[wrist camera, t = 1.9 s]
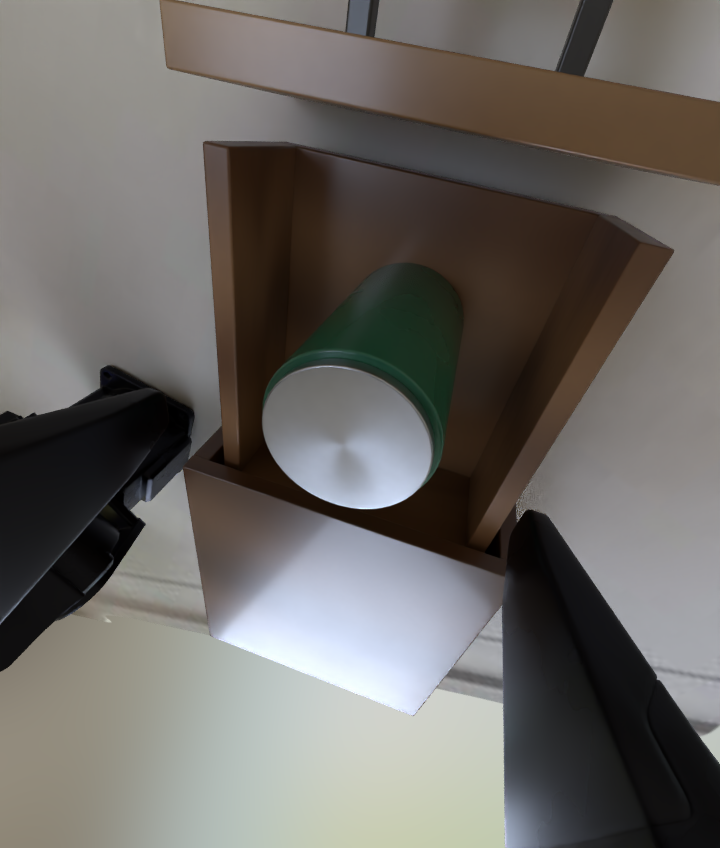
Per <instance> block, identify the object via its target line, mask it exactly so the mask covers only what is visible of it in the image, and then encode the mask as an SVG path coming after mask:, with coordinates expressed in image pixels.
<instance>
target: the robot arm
mask: <svg viewBox="0 0 720 848" xmlns="http://www.w3.org/2000/svg"><path fill="white" fill-rule="evenodd" d="M193 421H194V413H193V412H192V410H191V409H189V408H188V407H186V406H184V405H182V404H180V403H178V402H176V401H175V400H173V399H171V398H169V397H167V396H165V395H164V394H163V393H162V392H160V391H157V390H154V389H153V388H151V387H149V386H147V385H145V384H143V383H141V382H140V381H138V380H136V379H134V378H132V377H130V376H129V375H127V374H125V373H123V372H121V371H119V370H117V369H116V368H114V367H112V366H106V367H104V368H102V369H101V370H100V388H99V389H98V390H96V391H94V392H93V393H91V394H90V395H88V396H86V397H85V398H83V399H81V400H80V401H78V402H77V403H75V404H73V405H72V406H70V407H69V408H65V409H61V410H57V411H53V412H49V413H45V414H41V415H36V414H35V413H32V414H31V415H29V416H27V417H25V418H23V417H22V416H21V415H20V416H18V415H16V414H14V413H11V412H9V411H6V412H5V413H3V414H1V415H0V672H1V671H2V670H4V669H6V668H8V667H9V666H10V665H11V664H12V663H13V662H14V661H15V660H16V659H17V658H18V657H19V656H20V655H21V654H22V653H23V652H24V651H25V650H26V649H27V648H28V646H29V645H31V643H32V642H33V641H34V640H35V639H36V638H37V637H38V636H39V635H40V634H41V633H42V632H43V631H44V630H45V629H47V628H48V627H49V626H50V625H51V624H52V623H53V622H54V621H57V620H60V619H62V618H65V617H67V616H68V615H70V614H72V613H73V612H75V611H76V610H77V609H79V608H80V607H82V606H83V605H84V604H85V603H86V602H88V601H89V600H90V599H91V598H92V597H93V596H94V595H95V594H96V593H97V592H98V591H99V590H100V589H101V588H102V587H103V586H104V585H105V583H106V582H107V581H108V579H109V578H110V577H111V575H112V574H113V572H114V571H115V569H116V568H117V566H118V565H119V563H120V562H121V560H122V559H123V558H124V556H125V555H126V553H127V552H128V550H129V549H130V547H131V546H132V544H133V543H134V541H135V540H136V538H137V537H138V535H139V534H140V532H141V531H142V529H143V528H144V526H145V525H146V524H145V523H144V522H143V521H142V520H141V519H140V518H137V517H136V516H135V515H134V514H133V513H132V512H131V511H130V510H131V509H132V508H133V507H134V506H135V505H136V504H137V503H138V502H139V501H140V500H143V501H145V502H147V501H151V500H152V499H153V498H154V497H155V496H156V495H157V494H158V493H159V492H160V491H161V490H162V489H163V488H164V486H165V485H166V484H167V483H168V482H169V481H170V480H171V479H172V478H173V477H174V476H175V475H176V474H177V473H179V472H180V471H181V470H182V469H183V465H184V464H185V463H186V462H187V461H188V457H189V452H190V448H191V443H192V441H191V438H190V435H191V430H192V426H193ZM502 636H503V717H504V718H503V720H504V794H505V795H504V803H505V848H720V764H719V762H718V761H717V760H716V758H715V757H714V756H713V754H712V753H711V752H710V750H709V749H708V748H707V746H706V745H705V744H704V743H703V741H702V740H701V738H700V737H699V735H698V734H697V733H696V731H695V730H694V728H693V727H692V726H691V724H690V723H689V721H688V720H687V718H686V717H685V716H684V714H683V713H682V711H681V710H680V709H679V707H678V706H677V704H676V703H675V701H674V700H673V698H672V697H671V696H670V694H669V693H668V691H667V690H666V688H665V687H664V685H663V684H662V682H661V681H660V680H656V679H657V675H656V674H655V672H654V671H653V669H652V668H651V666H650V665H649V664H648V662H647V661H646V659H645V658H644V656H643V655H642V653H641V652H640V650H639V649H638V647H637V646H636V644H635V643H634V642H633V640H632V639H631V637H630V636H629V634H628V633H627V631H626V630H625V628H624V627H623V625H622V624H621V622H620V621H619V620H618V618H617V617H616V615H615V614H614V612H613V611H612V609H611V608H610V606H609V605H608V603H607V602H606V600H605V599H604V598H603V596H602V595H601V593H600V592H599V590H598V589H597V587H596V586H595V584H594V583H593V581H592V580H591V578H590V577H589V576H588V574H587V573H586V571H585V570H584V568H583V567H582V565H581V564H580V562H579V561H578V559H577V558H576V557H575V555H574V554H573V552H572V551H571V549H570V548H569V546H568V545H567V543H566V542H565V540H564V539H563V537H562V536H561V535H560V533H559V532H558V530H557V529H556V527H555V526H554V524H553V523H552V521H551V520H550V518H549V517H548V516H547V515H545V514H543V513H540V512H537V511H533V510H527V511H525V513H524V514H523V515H522V517H521V518H520V520H519V521H518V523H517V524H516V526H515V527H514V529H513V530H512V532H511V535H510V538H509V545H508V554H507V563H506V573H505V582H504V591H503V602H502Z"/></svg>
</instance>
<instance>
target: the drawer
mask: <svg viewBox="0 0 720 848" xmlns="http://www.w3.org/2000/svg"><path fill="white" fill-rule="evenodd" d="M612 3H613V0H580V2H579V5H578V8H577V11H576V14H575V16H574V19H573V22H572V25H571V28H570V30H569V33H568V36H567V39H566V42H565V45H564V47H563V50H562V53H561V56H560V59H559V62H558V64H557V67H556V70H555V71H551V70H546V69H540V68H535V67H530V66H524V65H519V64H514V63H508V62H503V61H498V60H492V59H487V58H482V57H476V56H471V55H466V54H460V53H455V52H450V51H444V50H439V49H434V48H428V47H423V46H418V45H412V44H407V43H402V42H396V41H391V40H386V39H380V38H375V37H374V36H375V29H376V21H377V14H378V7H379V0H349V2H348V11H347V21H346V31H345V32H343V31H338V30H332V29H327V28H322V27H316V26H311V25H306V24H300V23H295V22H290V21H284V20H279V19H274V18H268V17H263V16H258V15H252V14H247V13H242V12H236V11H231V10H226V9H220V8H215V7H210V6H204V5H199V4H194V3H188V2H183V1H178V0H160V10H161V19H162V29H163V38H164V48H165V57H166V66H167V68H169V69H171V70H175V71H180V72H184V73H188V74H193V75H197V76H201V77H206V78H210V79H214V80H219V81H223V82H227V83H232V84H236V85H240V86H245V87H249V88H253V89H258V90H262V91H266V92H271V93H275V94H280V95H285V96H290V97H294V98H299V99H304V100H308V101H313V102H318V103H323V104H327V105H332V106H337V107H342V108H346V109H351V110H356V111H360V112H365V113H370V114H375V115H379V116H384V117H389V118H394V119H398V120H403V121H408V122H412V123H417V124H422V125H427V126H431V127H436V128H441V129H446V130H450V131H455V132H460V133H465V134H469V135H474V136H479V137H483V138H488V139H493V140H498V141H502V142H507V143H512V144H517V145H521V146H526V147H531V148H535V149H540V150H545V151H550V152H554V153H559V154H564V155H569V156H573V157H578V158H583V159H587V160H592V161H597V162H602V163H606V164H611V165H616V166H621V167H625V168H630V169H635V170H640V171H644V172H649V173H654V174H658V175H664V176H669V177H674V178H680V179H685V180H690V181H696V182H701V183H706V184H712V185H717V186H720V102H716V101H711V100H706V99H700V98H695V97H690V96H684V95H679V94H674V93H668V92H663V91H658V90H652V89H647V88H642V87H636V86H631V85H626V84H620V83H615V82H610V81H604V80H599V79H594V78H588V77H584V74H585V72H586V69H587V67H588V64H589V62H590V59H591V57H592V54H593V51H594V49H595V46H596V44H597V41H598V39H599V36H600V34H601V31H602V28H603V26H604V23H605V21H606V18H607V16H608V13H609V11H610V8H611V5H612ZM203 152H204V166H205V181H206V196H207V211H208V225H209V240H210V255H211V270H212V284H213V299H214V314H215V329H216V343H217V358H218V373H219V387H220V402H221V417H222V432H223V446H224V461H225V466H227V467H230V468H233V469H236V470H239V471H242V472H245V473H248V474H251V475H254V476H257V477H260V478H263V479H266V480H269V481H272V482H275V483H278V484H281V485H284V486H287V487H290V488H293V489H296V490H298V491H301V492H304V493H307V494H310V495H313V494H311V493H310V492H308V491H306V490H305V489H303V488H302V487H300V486H299V485H298V484H296V483H295V482H294V481H293V480H292V479H291V478H289V476H288V475H287V474H286V473H285V472H284V471H283V470H282V469H281V468H280V466H279V465H278V464H277V463H276V461H275V460H274V458H273V456H272V455H271V453H270V451H269V449H268V447H267V444H266V441H265V438H264V434H263V429H262V414H263V399H264V395H265V391H266V388H267V386H268V384H269V381H270V380H271V378H272V377H273V375H274V374H275V372H276V371H277V370H278V369H279V368H280V367H281V366H282V365H283V364H284V363H285V362H286V361H287V360H288V359H289V358H290V357H291V356H292V355H293V353H294V352H295V351H296V350H297V349H298V348H299V347H300V346H301V345H302V344H303V343H304V342H305V341H306V340H307V339H308V338H309V337H310V336H311V335H312V334H313V333H314V332H315V330H316V329H317V328H318V327H319V326H320V325H321V324H322V323H323V322H324V321H325V320H326V319H327V318H328V317H329V316H330V315H331V314H332V313H333V312H334V311H335V310H336V309H337V307H338V306H339V305H340V304H341V303H342V302H343V301H344V300H345V299H346V298H347V297H348V296H349V295H350V294H351V293H352V292H353V291H354V290H355V289H356V288H357V287H358V286H359V285H360V283H361V282H362V281H363V280H364V279H365V278H366V277H367V276H369V275H370V274H371V273H372V272H374V271H376V270H377V269H379V268H381V267H384V266H386V265H390V264H394V263H414V264H420V265H423V266H426V267H428V268H430V269H432V270H434V271H436V272H437V273H439V274H440V275H442V276H443V277H444V278H445V279H446V280H447V281H448V282H449V283H450V284H451V285H452V287H453V288H454V290H455V291H456V293H457V295H458V297H459V299H460V301H461V305H462V308H463V314H464V327H463V334H462V340H461V346H460V352H459V358H458V364H457V370H456V376H455V382H454V388H453V394H452V400H451V406H450V412H449V418H448V424H447V430H446V436H445V442H444V448H443V454H442V457H441V461H440V464H439V466H438V468H437V469H436V471H435V473H434V474H433V476H432V477H431V478H430V480H429V481H428V482H426V483H425V484H424V485H423V486H422V487H421V488H420V489H418V490H417V491H416V492H415V493H414V494H413V495H411V496H410V497H408V498H407V499H405V500H403V501H401V502H399V503H397V504H394V505H391V506H387V507H383V508H375V509H358V508H352V509H355V510H358V511H361V512H364V513H367V514H370V515H373V516H376V517H379V518H382V519H385V520H388V521H391V522H394V523H397V524H400V525H402V526H405V527H408V528H411V529H414V530H417V531H420V532H423V533H426V534H429V535H432V536H435V537H438V538H441V539H444V540H447V541H450V542H453V543H456V544H459V545H462V546H465V547H468V548H471V549H474V550H477V551H480V552H483V553H484V552H485V551H486V549H487V548H488V546H489V545H490V543H491V541H492V540H493V538H494V537H495V535H496V533H497V532H498V530H499V529H500V527H501V525H502V524H503V522H504V521H505V519H506V518H507V516H508V514H509V513H510V511H511V510H512V508H513V506H514V505H515V503H516V502H517V500H518V498H519V497H520V495H521V494H522V492H523V491H524V489H525V487H526V486H527V484H528V483H529V481H530V479H531V478H532V476H533V475H534V473H535V472H536V470H537V468H538V467H539V465H540V464H541V462H542V460H543V459H544V457H545V456H546V454H547V452H548V451H549V449H550V448H551V446H552V445H553V443H554V441H555V440H556V438H557V437H558V435H559V433H560V432H561V430H562V429H563V427H564V426H565V424H566V422H567V421H568V419H569V418H570V416H571V414H572V413H573V411H574V410H575V408H576V406H577V405H578V403H579V402H580V400H581V399H582V397H583V395H584V394H585V392H586V391H587V389H588V387H589V386H590V384H591V383H592V381H593V380H594V378H595V376H596V375H597V373H598V372H599V370H600V368H601V367H602V365H603V364H604V362H605V360H606V359H607V357H608V356H609V354H610V353H611V351H612V349H613V348H614V346H615V345H616V343H617V341H618V340H619V338H620V337H621V335H622V333H623V332H624V330H625V329H626V327H627V326H628V324H629V322H630V321H631V319H632V318H633V316H634V314H635V313H636V311H637V310H638V308H639V307H640V305H641V303H642V302H643V300H644V299H645V297H646V295H647V294H648V292H649V291H650V289H651V287H652V286H653V284H654V283H655V281H656V280H657V278H658V276H659V275H660V273H661V272H662V270H663V268H664V267H665V265H666V264H667V262H668V261H669V259H670V257H671V256H672V254H673V253H674V250H673V249H671V248H670V247H668V246H666V245H665V244H663V243H661V242H660V241H658V240H656V239H654V238H653V237H651V236H649V235H648V234H646V233H644V232H643V231H641V230H639V229H638V228H636V227H634V226H632V225H631V224H629V223H627V222H626V221H624V220H622V219H620V218H618V217H617V216H613V215H609V214H604V213H600V212H595V211H591V210H586V209H582V208H578V207H573V206H569V205H564V204H560V203H555V202H551V201H547V200H542V199H538V198H533V197H529V196H525V195H520V194H516V193H511V192H507V191H502V190H498V189H494V188H489V187H485V186H480V185H476V184H471V183H467V182H463V181H458V180H454V179H449V178H445V177H440V176H436V175H432V174H427V173H423V172H418V171H414V170H410V169H405V168H401V167H396V166H392V165H387V164H383V163H379V162H374V161H370V160H365V159H361V158H356V157H352V156H348V155H343V154H339V153H334V152H330V151H326V150H321V149H317V148H312V147H308V146H303V145H299V144H295V143H290V142H261V141H205V142H203ZM313 496H315V495H313ZM316 497H317V496H316ZM349 508H350V507H349Z"/></svg>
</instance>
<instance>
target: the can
mask: <svg viewBox="0 0 720 848" xmlns="http://www.w3.org/2000/svg"><path fill="white" fill-rule="evenodd" d="M463 327H464V314H463V308H462V305H461V301H460V299H459V297H458V295H457V293H456V291H455V290H454V288H453V287H452V285H451V284H450V283H449V282H448V281H447V280H446V279H445V278H444V277H443V276H442V275H440V274H439V273H437V272H436V271H434V270H432V269H430V268H428V267H426V266H423V265H420V264H414V263H394V264H390V265H386V266H384V267H381V268H379V269H377V270H376V271H374V272H372V273H371V274H370V275H369V276H367V277H366V278H365V279H364V280H363V281H362V282H361V283H360V285H359V286H358V287H357V288H356V289H355V290H354V291H353V292H352V293H351V294H350V295H349V296H348V297H347V298H346V299H345V300H344V301H343V302H342V303H341V304H340V305H339V306H338V307H337V309H336V310H335V311H334V312H333V313H332V314H331V315H330V316H329V317H328V318H327V319H326V320H325V321H324V322H323V323H322V324H321V325H320V326H319V327H318V328H317V329H316V330H315V332H314V333H313V334H312V335H311V336H310V337H309V338H308V339H307V340H306V341H305V342H304V343H303V344H302V345H301V346H300V347H299V348H298V349H297V350H296V351H295V352H294V353H293V355H292V356H291V357H290V358H289V359H288V360H287V361H286V362H285V363H284V364H283V365H282V366H281V367H280V368H279V369H278V370H277V371H276V372H275V374H274V375H273V377H272V378H271V380H270V381H269V384H268V386H267V388H266V391H265V395H264V399H263V414H262V429H263V434H264V438H265V441H266V444H267V447H268V449H269V451H270V453H271V455H272V456H273V458H274V460H275V461H276V463H277V464H278V465H279V466H280V468H281V469H282V470H283V471H284V472H285V473H286V474H287V475H288V476H289V478H291V479H292V480H293V481H294V482H295V483H296V484H298V485H299V486H300V487H302V488H303V489H305V490H306V491H308V492H310V493H311V494H313V495H315V496H317V497H319V498H321V499H323V500H325V501H328V502H331V503H334V504H337V505H340V506H345V507H350V508H358V509H375V508H383V507H387V506H391V505H394V504H397V503H399V502H401V501H403V500H405V499H407V498H408V497H410V496H411V495H413V494H414V493H415V492H416V491H417V490H418V489H420V488H421V487H422V486H423V485H424V484H425V483H426V482H428V481H429V480H430V478H431V477H432V476H433V474H434V473H435V471H436V469H437V468H438V466H439V464H440V461H441V457H442V454H443V448H444V442H445V436H446V430H447V424H448V418H449V412H450V406H451V400H452V394H453V388H454V382H455V376H456V370H457V364H458V358H459V352H460V346H461V340H462V334H463Z"/></svg>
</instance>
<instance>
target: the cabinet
mask: <svg viewBox="0 0 720 848" xmlns="http://www.w3.org/2000/svg"><path fill="white" fill-rule="evenodd" d="M183 471H184V477H185V483H186V490H187V496H188V502H189V508H190V514H191V521H192V527H193V533H194V539H195V545H196V552H197V558H198V564H199V570H200V576H201V582H202V589H203V595H204V601H205V607H206V613H207V620H208V626H209V632H210V636H212V637H214V638H217V639H219V640H222V641H224V642H227V643H229V644H232V645H234V646H237V647H239V648H242V649H245V650H247V651H250V652H252V653H255V654H257V655H260V656H262V657H265V658H267V659H270V660H272V661H275V662H278V663H280V664H283V665H285V666H288V667H290V668H293V669H295V670H298V671H300V672H303V673H305V674H308V675H311V676H313V677H316V678H318V679H321V680H323V681H326V682H328V683H331V684H334V685H336V686H338V687H341V688H344V689H346V690H349V691H351V692H354V693H356V694H359V695H361V696H364V697H367V698H369V699H371V700H374V701H376V702H379V703H382V704H384V705H387V706H389V707H392V708H394V709H397V710H399V711H402V712H405V713H407V714H410V715H412V716H414V715H415V714H416V713H417V711H418V710H419V709H420V707H421V706H422V705H423V704H424V703H425V701H426V700H427V699H428V697H429V696H430V695H431V694H432V692H433V691H434V690H435V689H436V687H437V686H438V685H439V684H440V682H441V681H442V680H443V679H444V677H445V676H446V675H447V674H448V672H449V671H450V670H451V668H452V667H453V666H454V665H455V663H456V662H457V661H458V660H459V658H460V657H461V656H462V655H463V653H464V652H465V651H466V650H467V648H468V647H469V646H470V645H471V643H472V642H473V641H474V639H475V638H476V637H477V636H478V634H479V633H480V632H481V631H482V629H483V628H484V627H485V626H486V624H487V623H488V622H489V621H490V619H491V618H492V617H493V615H494V614H495V613H496V612H497V610H498V609H499V608H500V607H501V605H502V602H503V591H504V582H505V573H506V563H507V554H508V545H509V538H510V535H511V532H512V530H513V529H514V527H515V526H516V524H517V516H516V503H515V505H514V506H513V508H512V510H511V511H510V513H509V514H508V516H507V518H506V519H505V521H504V522H503V524H502V525H501V527H500V529H499V530H498V532H497V533H496V535H495V537H494V538H493V540H492V541H491V543H490V545H489V546H488V548H487V549H486V551H485V552H484V553H483V552H480V551H477V550H474V549H471V548H468V547H465V546H462V545H459V544H456V543H453V542H450V541H447V540H444V539H441V538H438V537H435V536H432V535H429V534H426V533H423V532H420V531H417V530H414V529H411V528H408V527H405V526H402V525H400V524H397V523H394V522H391V521H388V520H385V519H382V518H379V517H376V516H373V515H370V514H367V513H364V512H361V511H358V510H355V509H352V508H349V507H345V506H340V505H337V504H334V503H331V502H328V501H325V500H323V499H321V498H319V497H316V496H313V495H310V494H307V493H304V492H301V491H298V490H296V489H293V488H290V487H287V486H284V485H281V484H278V483H275V482H272V481H269V480H266V479H263V478H260V477H257V476H254V475H251V474H248V473H245V472H242V471H239V470H236V469H233V468H230V467H227V466H225V461H224V446H223V432H222V426H221V427H220V428H219V429H218V430H217V431H216V432H215V433H214V435H213V436H212V437H211V438H210V439H209V440H208V441H207V442H206V443H205V444H204V445H203V446H202V447H201V448H200V449H199V450H198V451H197V452H196V453H195V454H194V455H193V456H192V457H191V458H190V459H189V460H188V461H187V462H186V463H185V464H184V465H183Z"/></svg>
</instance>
